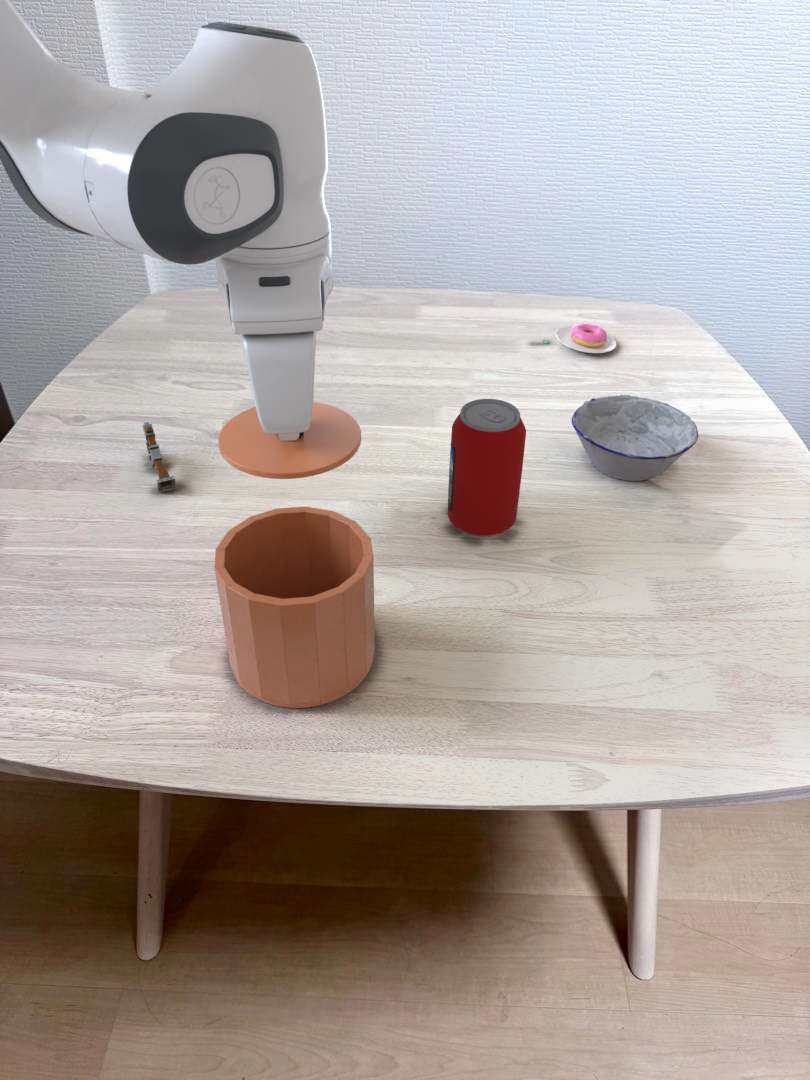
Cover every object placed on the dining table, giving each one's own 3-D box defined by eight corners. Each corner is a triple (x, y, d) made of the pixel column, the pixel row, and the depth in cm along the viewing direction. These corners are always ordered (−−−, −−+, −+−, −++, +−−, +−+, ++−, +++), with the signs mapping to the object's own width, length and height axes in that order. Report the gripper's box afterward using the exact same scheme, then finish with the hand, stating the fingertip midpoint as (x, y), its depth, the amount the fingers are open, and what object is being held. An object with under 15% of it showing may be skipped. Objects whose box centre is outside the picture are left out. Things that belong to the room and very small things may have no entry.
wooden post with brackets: (156, 441, 92) (153, 415, 88) (177, 501, 89) (175, 477, 85) (139, 445, 91) (136, 419, 88) (159, 505, 88) (157, 481, 84)
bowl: (549, 472, 90) (555, 433, 87) (589, 420, 99) (595, 383, 96) (670, 508, 85) (681, 467, 82) (701, 450, 94) (711, 411, 91)
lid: (216, 490, 69) (209, 440, 66) (222, 415, 79) (216, 369, 76) (368, 480, 70) (366, 431, 68) (355, 408, 80) (353, 362, 77)
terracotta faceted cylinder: (229, 715, 63) (211, 611, 57) (233, 612, 72) (217, 512, 66) (381, 700, 64) (380, 597, 58) (366, 601, 73) (364, 502, 67)
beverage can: (478, 493, 87) (486, 387, 79) (530, 521, 83) (543, 413, 75) (432, 520, 83) (436, 412, 75) (484, 551, 79) (494, 440, 72)
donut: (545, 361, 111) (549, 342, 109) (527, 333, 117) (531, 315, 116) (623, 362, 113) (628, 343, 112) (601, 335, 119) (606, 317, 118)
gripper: (236, 226, 73) (252, 373, 81) (229, 323, 57) (250, 493, 65) (310, 224, 73) (318, 369, 82) (323, 318, 57) (332, 487, 66)
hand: (288, 425), depth 73 cm, fingers closed on lid, 2 cm apart
